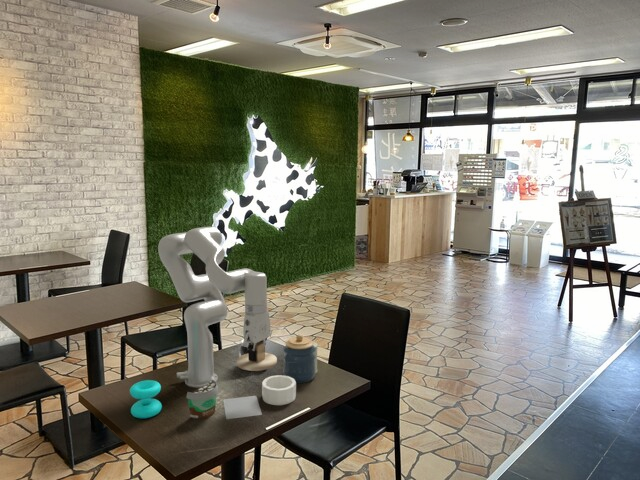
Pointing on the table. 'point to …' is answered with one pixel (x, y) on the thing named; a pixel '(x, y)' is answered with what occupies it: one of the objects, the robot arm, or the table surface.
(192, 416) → the food container
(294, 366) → the canister
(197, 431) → the table surface
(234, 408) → the mat
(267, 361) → the lid
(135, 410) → the donuts
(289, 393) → the bowl
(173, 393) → the table surface
